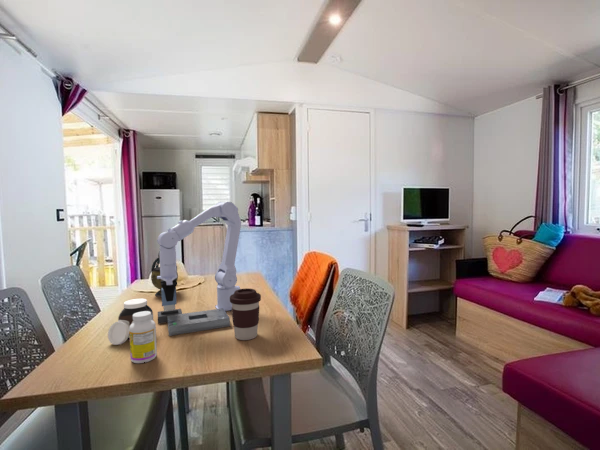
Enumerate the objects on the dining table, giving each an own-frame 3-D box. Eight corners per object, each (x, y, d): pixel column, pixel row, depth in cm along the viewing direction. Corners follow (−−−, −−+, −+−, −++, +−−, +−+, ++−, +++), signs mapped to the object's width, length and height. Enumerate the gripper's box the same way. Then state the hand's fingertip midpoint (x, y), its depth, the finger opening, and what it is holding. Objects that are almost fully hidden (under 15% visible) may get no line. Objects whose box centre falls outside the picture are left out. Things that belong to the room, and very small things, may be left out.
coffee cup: (266, 332, 109) (265, 288, 108) (252, 344, 99) (251, 296, 98) (240, 328, 112) (239, 286, 111) (224, 340, 103) (223, 293, 102)
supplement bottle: (136, 353, 94) (134, 310, 93) (160, 352, 94) (158, 309, 93) (126, 365, 87) (124, 318, 86) (151, 363, 88) (149, 317, 87)
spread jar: (156, 330, 111) (155, 297, 110) (146, 344, 100) (145, 307, 99) (118, 333, 109) (116, 299, 108) (104, 347, 98) (102, 309, 97)
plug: (176, 307, 124) (175, 286, 124) (176, 309, 122) (176, 288, 121) (162, 308, 122) (161, 288, 122) (162, 311, 120) (161, 290, 119)
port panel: (223, 315, 125) (223, 307, 125) (229, 326, 114) (229, 317, 114) (167, 323, 117) (167, 314, 117) (168, 336, 106) (168, 326, 106)
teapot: (179, 288, 167) (177, 244, 166) (177, 302, 144) (175, 250, 142) (153, 290, 164) (152, 245, 162) (147, 305, 140) (145, 251, 139)
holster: (181, 314, 127) (181, 308, 127) (182, 320, 121) (182, 313, 121) (157, 318, 123) (157, 311, 123) (157, 323, 118) (157, 316, 117)
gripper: (156, 261, 126) (157, 296, 127) (156, 268, 113) (158, 306, 113) (175, 260, 129) (176, 294, 130) (178, 266, 116) (179, 303, 116)
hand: (169, 299), depth 122 cm, fingers closed on plug, 3 cm apart
